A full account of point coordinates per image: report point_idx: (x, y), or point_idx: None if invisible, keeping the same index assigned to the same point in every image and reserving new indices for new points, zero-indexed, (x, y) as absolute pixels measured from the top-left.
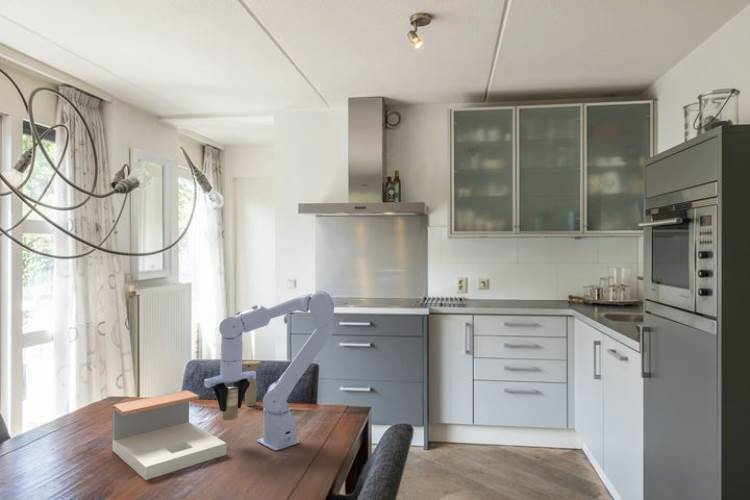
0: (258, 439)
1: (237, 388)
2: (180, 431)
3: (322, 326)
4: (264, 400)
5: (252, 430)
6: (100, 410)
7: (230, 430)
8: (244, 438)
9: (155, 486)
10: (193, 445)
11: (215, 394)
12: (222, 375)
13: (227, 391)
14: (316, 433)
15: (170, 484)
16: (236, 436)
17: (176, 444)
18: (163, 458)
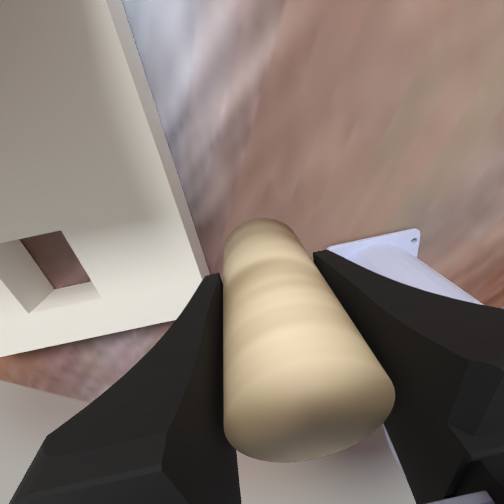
0: (333, 250)
1: (369, 429)
2: (16, 66)
3: None
4: (400, 468)
5: (374, 123)
6: None
7: (302, 53)
8: (309, 194)
9: (32, 367)
10: (101, 283)
11: (143, 359)
12: None
13: (238, 488)
14: (486, 272)
15: (67, 371)
16: (293, 155)
17: (30, 236)
18: (6, 335)
